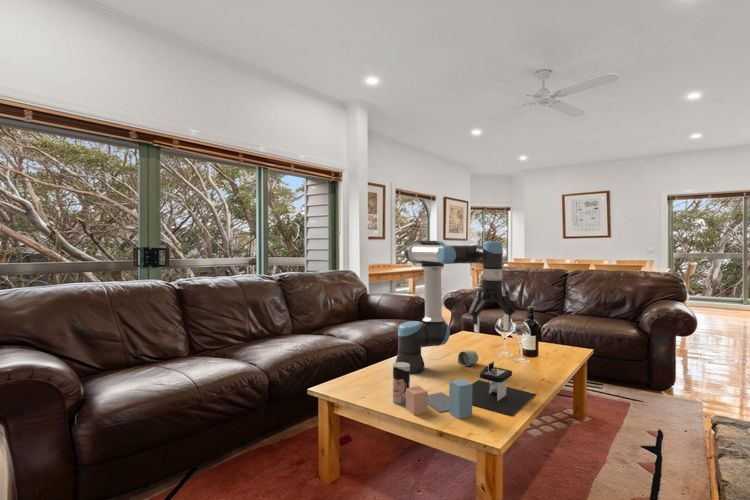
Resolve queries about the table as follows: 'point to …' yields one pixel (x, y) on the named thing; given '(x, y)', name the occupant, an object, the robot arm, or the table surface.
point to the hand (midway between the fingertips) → (491, 331)
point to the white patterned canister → (400, 382)
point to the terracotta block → (416, 400)
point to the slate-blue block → (460, 398)
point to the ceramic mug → (467, 358)
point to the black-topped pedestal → (498, 391)
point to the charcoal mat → (439, 402)
